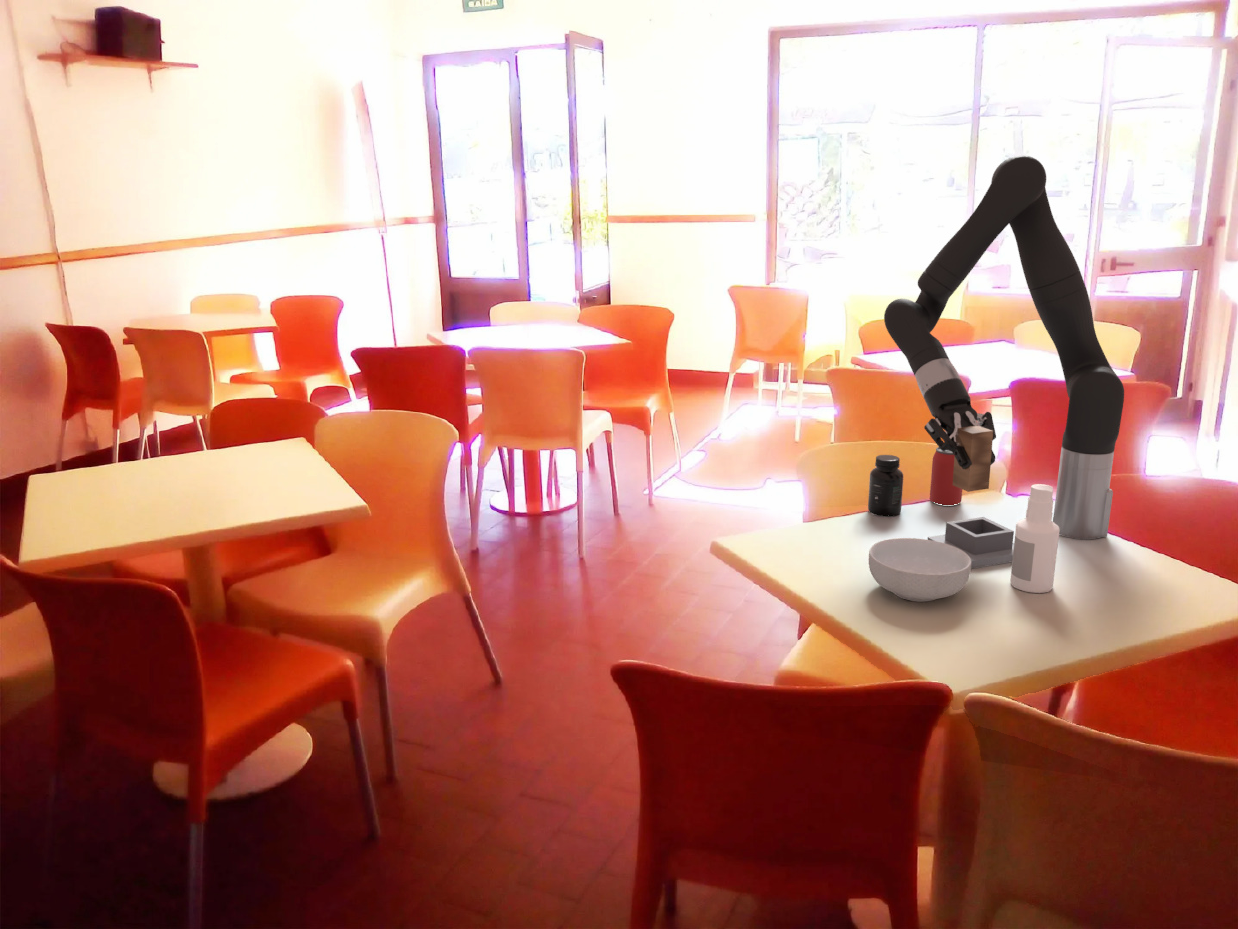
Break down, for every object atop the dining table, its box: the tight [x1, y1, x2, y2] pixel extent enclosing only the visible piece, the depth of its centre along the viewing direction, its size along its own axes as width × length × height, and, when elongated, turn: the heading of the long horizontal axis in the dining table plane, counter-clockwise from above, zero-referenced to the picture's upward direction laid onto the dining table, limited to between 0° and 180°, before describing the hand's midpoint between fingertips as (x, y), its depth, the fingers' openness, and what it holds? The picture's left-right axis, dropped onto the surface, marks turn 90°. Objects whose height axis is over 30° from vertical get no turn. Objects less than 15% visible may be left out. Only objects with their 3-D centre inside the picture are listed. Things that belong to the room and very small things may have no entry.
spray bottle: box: [1009, 483, 1060, 594], centre depth 164 cm, size 7×7×18 cm
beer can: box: [929, 446, 963, 505], centre depth 208 cm, size 7×7×12 cm
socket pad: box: [927, 516, 1015, 570], centre depth 181 cm, size 13×13×5 cm
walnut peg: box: [953, 426, 994, 493], centre depth 176 cm, size 4×4×11 cm
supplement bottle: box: [867, 454, 904, 517], centre depth 203 cm, size 7×7×12 cm
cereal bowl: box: [868, 537, 972, 603], centre depth 164 cm, size 17×17×7 cm
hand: (979, 465), depth 175 cm, fingers closed on walnut peg, 4 cm apart
